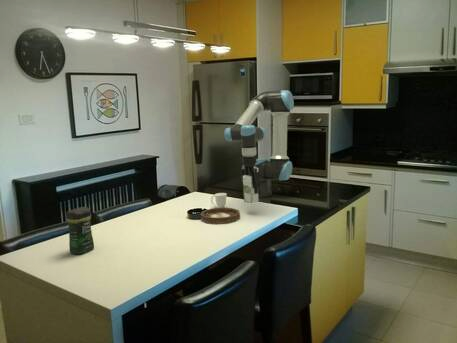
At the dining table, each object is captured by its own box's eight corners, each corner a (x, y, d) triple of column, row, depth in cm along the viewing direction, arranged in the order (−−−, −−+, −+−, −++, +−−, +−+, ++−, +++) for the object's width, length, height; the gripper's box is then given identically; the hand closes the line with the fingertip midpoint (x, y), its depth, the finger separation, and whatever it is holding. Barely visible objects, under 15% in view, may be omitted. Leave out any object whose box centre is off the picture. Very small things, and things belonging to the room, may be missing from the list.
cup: (223, 210, 225) (222, 196, 224) (208, 208, 230) (207, 194, 229) (229, 207, 231) (229, 193, 229) (215, 205, 236) (214, 192, 235)
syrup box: (258, 201, 215) (257, 174, 213) (251, 203, 211) (250, 176, 208) (250, 199, 219) (249, 173, 217) (243, 202, 215) (242, 175, 212)
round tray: (225, 210, 223) (225, 205, 223) (247, 218, 207) (247, 212, 207) (194, 217, 212) (193, 212, 212) (214, 226, 196) (214, 220, 196)
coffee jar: (80, 256, 165) (75, 212, 162) (66, 253, 168) (61, 210, 165) (98, 248, 173) (93, 206, 170) (84, 246, 177) (79, 204, 174)
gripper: (232, 154, 216) (234, 196, 221) (255, 158, 201) (257, 203, 205) (243, 152, 220) (245, 193, 225) (266, 156, 205) (268, 200, 209)
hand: (251, 198), depth 215 cm, fingers closed on syrup box, 6 cm apart
